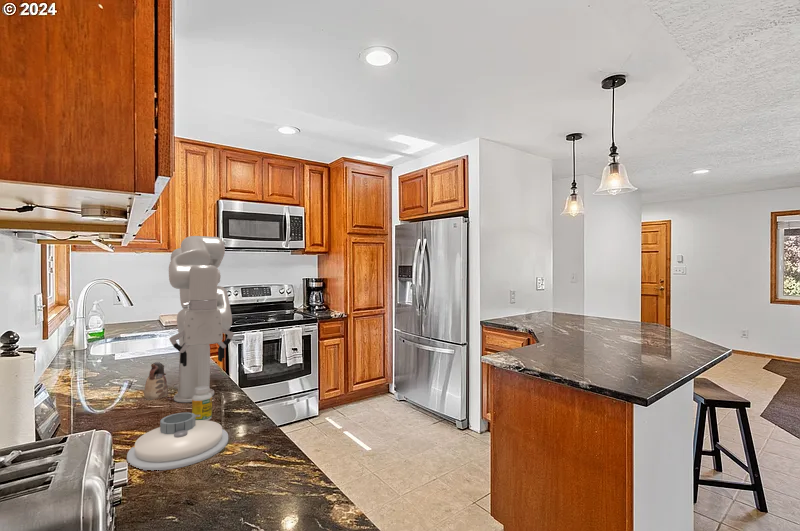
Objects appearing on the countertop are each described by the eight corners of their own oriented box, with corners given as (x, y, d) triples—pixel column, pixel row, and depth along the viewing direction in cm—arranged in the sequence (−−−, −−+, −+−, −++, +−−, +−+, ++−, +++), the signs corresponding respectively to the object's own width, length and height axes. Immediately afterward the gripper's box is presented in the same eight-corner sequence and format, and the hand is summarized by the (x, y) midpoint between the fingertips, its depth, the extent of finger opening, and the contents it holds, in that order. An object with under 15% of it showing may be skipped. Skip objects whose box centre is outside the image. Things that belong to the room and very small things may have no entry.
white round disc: (229, 446, 94) (229, 428, 94) (136, 470, 83) (136, 449, 83) (214, 421, 109) (214, 406, 109) (133, 439, 98) (133, 421, 98)
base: (105, 458, 90) (105, 453, 90) (189, 424, 111) (189, 420, 111) (167, 479, 82) (167, 473, 82) (246, 438, 102) (246, 433, 102)
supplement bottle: (201, 415, 118) (201, 384, 118) (216, 417, 116) (216, 385, 116) (187, 421, 112) (187, 389, 112) (202, 423, 111) (202, 390, 111)
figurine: (172, 393, 138) (172, 360, 138) (158, 399, 131) (158, 365, 131) (154, 392, 139) (154, 359, 139) (139, 399, 132) (139, 364, 132)
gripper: (171, 308, 106) (170, 370, 106) (236, 305, 117) (236, 361, 116) (168, 306, 112) (167, 365, 112) (231, 303, 123) (230, 357, 122)
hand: (202, 363), depth 114 cm, fingers open, 9 cm apart
